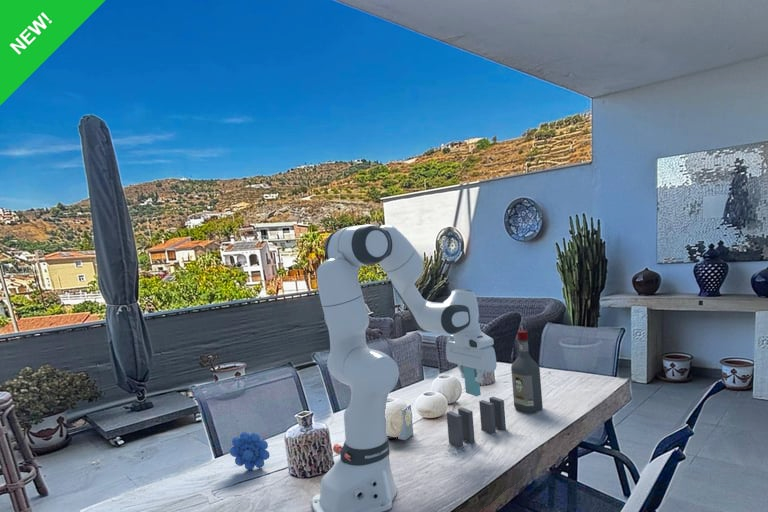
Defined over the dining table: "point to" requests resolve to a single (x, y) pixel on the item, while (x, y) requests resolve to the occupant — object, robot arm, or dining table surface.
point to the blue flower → (249, 450)
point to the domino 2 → (471, 381)
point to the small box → (406, 430)
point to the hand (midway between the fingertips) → (471, 379)
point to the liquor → (526, 379)
